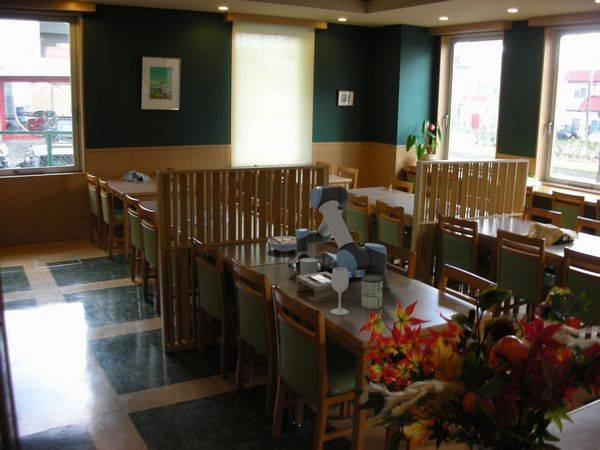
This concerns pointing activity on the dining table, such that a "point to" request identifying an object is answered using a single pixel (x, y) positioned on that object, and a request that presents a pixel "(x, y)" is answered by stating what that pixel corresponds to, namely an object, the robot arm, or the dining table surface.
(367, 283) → the coffee can
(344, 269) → the wineglass
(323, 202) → the robot arm
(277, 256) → the dining table surface
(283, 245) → the ramen bowl
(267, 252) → the dining table surface
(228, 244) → the dining table surface
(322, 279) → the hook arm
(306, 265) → the gray cylinder
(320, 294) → the shelf
